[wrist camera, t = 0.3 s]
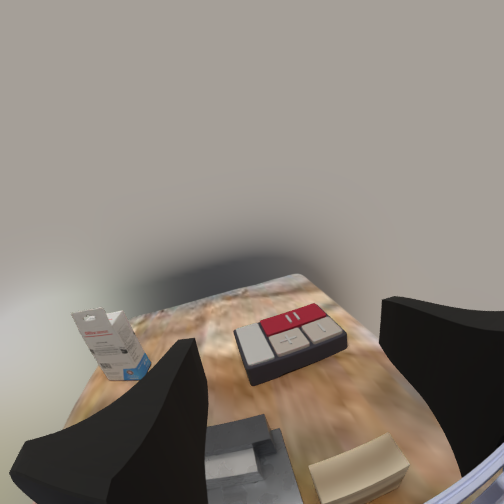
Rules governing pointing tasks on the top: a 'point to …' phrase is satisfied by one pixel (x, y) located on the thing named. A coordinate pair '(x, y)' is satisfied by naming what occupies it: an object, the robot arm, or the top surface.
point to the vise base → (269, 458)
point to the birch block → (360, 473)
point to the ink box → (113, 344)
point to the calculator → (288, 342)
